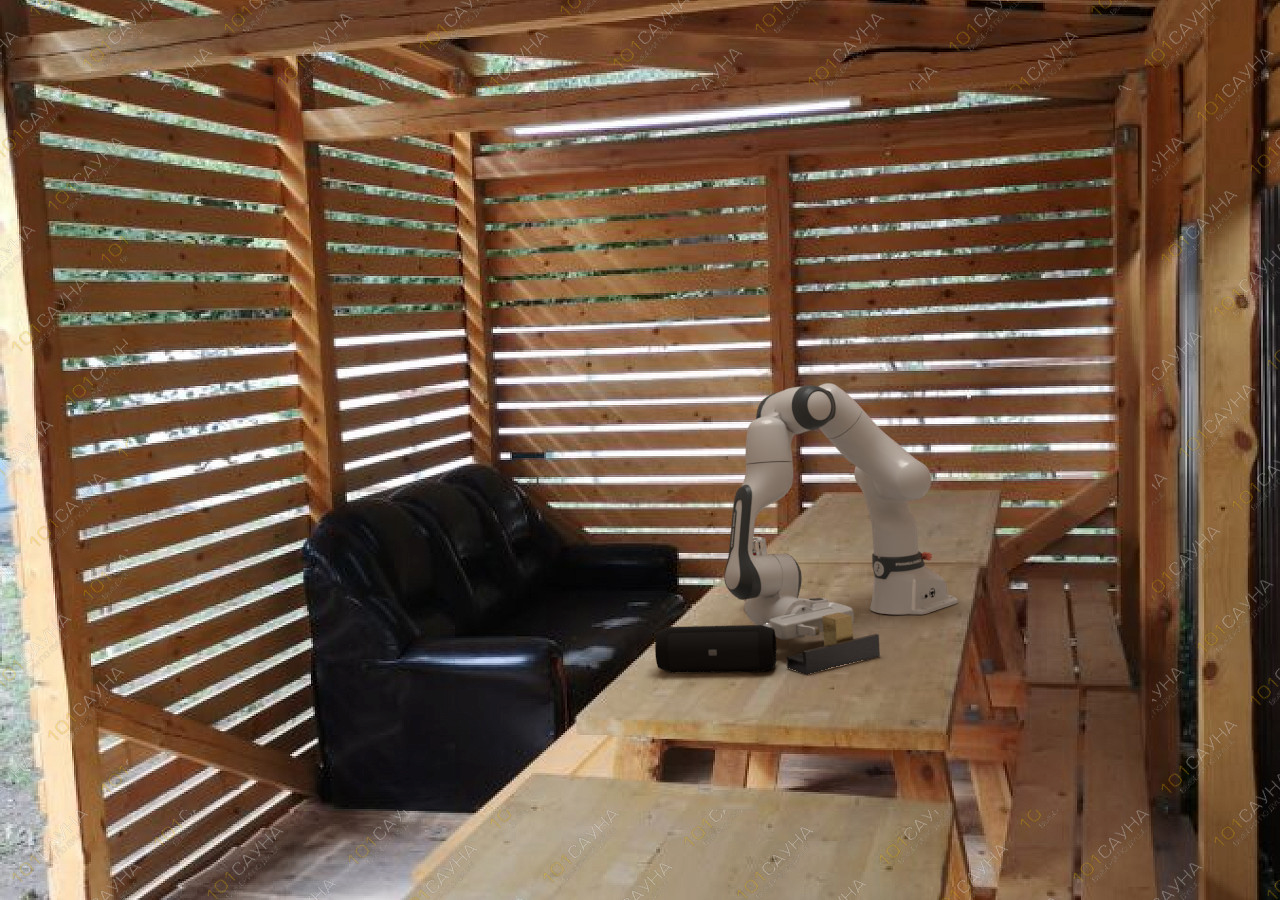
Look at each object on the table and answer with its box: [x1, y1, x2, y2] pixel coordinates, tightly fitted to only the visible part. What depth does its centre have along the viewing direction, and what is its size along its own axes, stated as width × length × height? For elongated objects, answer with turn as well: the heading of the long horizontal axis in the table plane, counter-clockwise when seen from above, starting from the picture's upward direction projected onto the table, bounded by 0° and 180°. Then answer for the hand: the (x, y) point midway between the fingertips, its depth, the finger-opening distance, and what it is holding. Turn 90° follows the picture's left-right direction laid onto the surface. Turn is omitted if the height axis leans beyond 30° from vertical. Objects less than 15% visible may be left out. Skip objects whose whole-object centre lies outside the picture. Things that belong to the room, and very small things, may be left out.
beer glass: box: [752, 536, 768, 555], centre depth 366 cm, size 7×7×15 cm
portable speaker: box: [654, 624, 777, 674], centre depth 294 cm, size 26×10×10 cm, turn 78°
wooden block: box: [822, 613, 854, 646], centre depth 295 cm, size 4×4×10 cm
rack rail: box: [786, 633, 881, 676], centre depth 294 cm, size 7×20×5 cm, turn 120°
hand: (833, 627), depth 296 cm, fingers open, 8 cm apart
